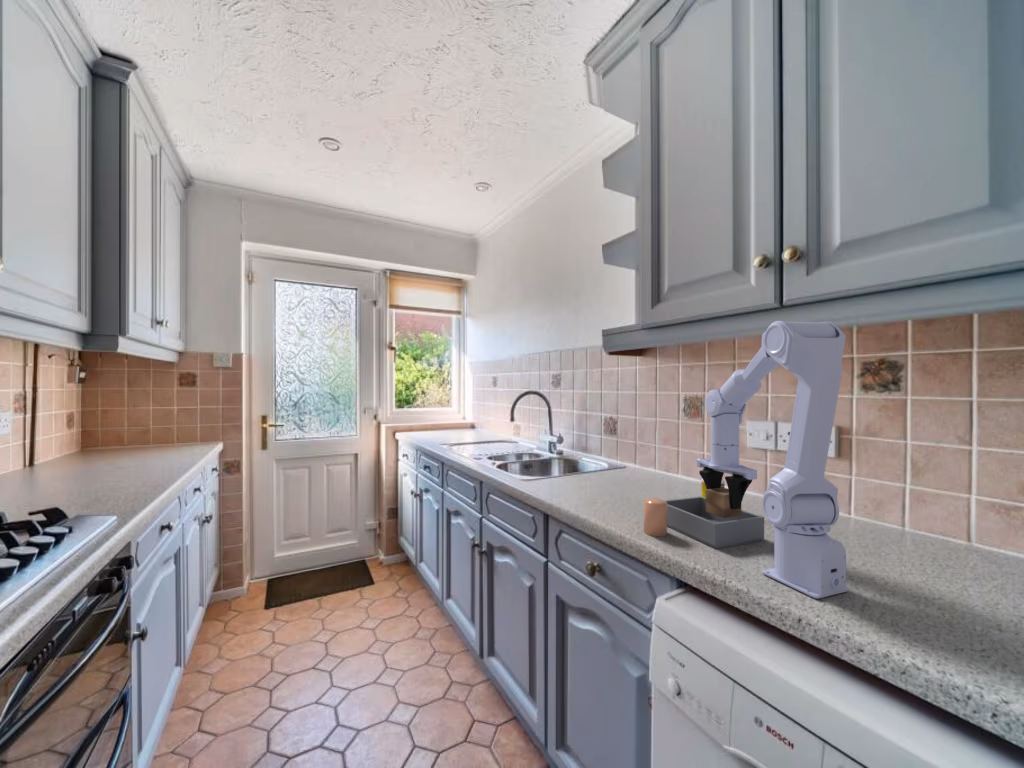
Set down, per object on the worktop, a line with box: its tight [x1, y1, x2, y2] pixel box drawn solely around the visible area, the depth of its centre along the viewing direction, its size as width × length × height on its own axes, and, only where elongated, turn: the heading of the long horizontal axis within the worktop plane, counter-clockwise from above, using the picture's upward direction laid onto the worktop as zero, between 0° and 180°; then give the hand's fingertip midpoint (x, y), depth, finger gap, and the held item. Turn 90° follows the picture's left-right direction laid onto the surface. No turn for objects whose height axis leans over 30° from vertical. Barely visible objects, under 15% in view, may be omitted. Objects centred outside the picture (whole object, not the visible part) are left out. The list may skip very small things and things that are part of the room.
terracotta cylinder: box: [643, 498, 668, 537], centre depth 93 cm, size 5×5×7 cm
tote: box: [664, 495, 765, 550], centre depth 94 cm, size 18×14×5 cm
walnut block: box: [706, 487, 742, 518], centre depth 92 cm, size 5×5×5 cm
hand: (724, 505), depth 92 cm, fingers closed on walnut block, 5 cm apart
